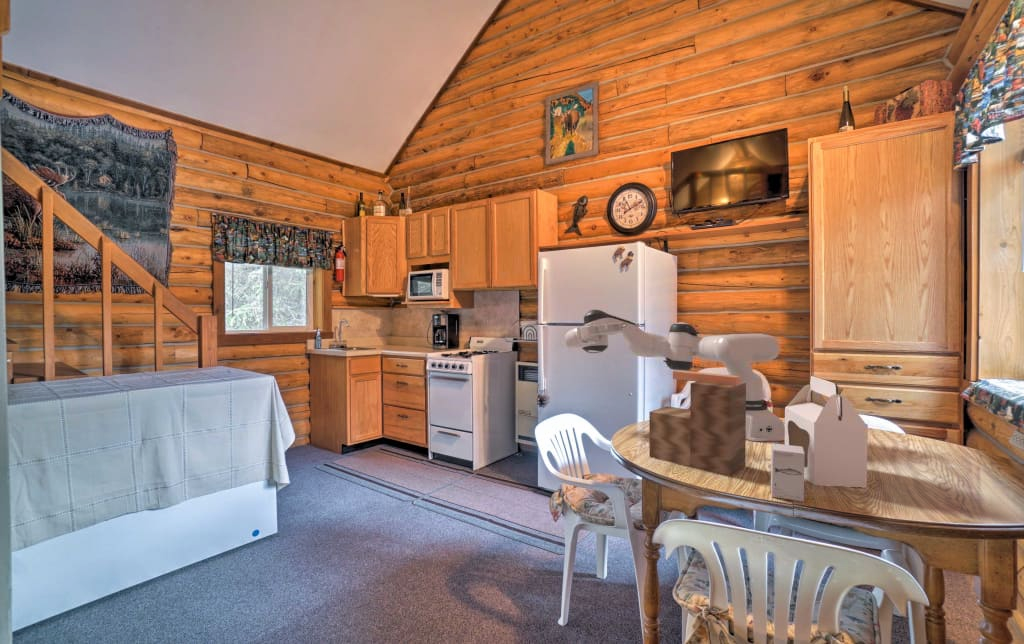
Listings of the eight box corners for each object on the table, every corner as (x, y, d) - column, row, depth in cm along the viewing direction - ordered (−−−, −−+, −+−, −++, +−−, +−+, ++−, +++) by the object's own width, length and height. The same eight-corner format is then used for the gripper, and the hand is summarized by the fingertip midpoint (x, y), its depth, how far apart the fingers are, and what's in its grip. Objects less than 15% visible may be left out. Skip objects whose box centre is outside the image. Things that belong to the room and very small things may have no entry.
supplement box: (771, 497, 123) (771, 449, 123) (770, 488, 130) (771, 442, 129) (804, 503, 120) (805, 453, 119) (802, 492, 126) (802, 445, 126)
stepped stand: (745, 466, 147) (745, 382, 146) (729, 476, 139) (730, 387, 138) (667, 449, 166) (667, 374, 165) (649, 456, 157) (649, 378, 157)
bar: (740, 384, 143) (740, 376, 143) (736, 385, 141) (736, 377, 141) (677, 377, 158) (677, 370, 158) (672, 379, 155) (672, 371, 155)
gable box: (867, 489, 128) (869, 386, 128) (813, 486, 131) (815, 384, 130) (829, 462, 150) (830, 374, 149) (784, 460, 153) (784, 373, 152)
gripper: (613, 338, 199) (637, 331, 188) (576, 342, 188) (599, 335, 176) (610, 323, 200) (634, 316, 189) (573, 327, 189) (596, 319, 177)
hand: (617, 325), depth 182 cm, fingers open, 8 cm apart
